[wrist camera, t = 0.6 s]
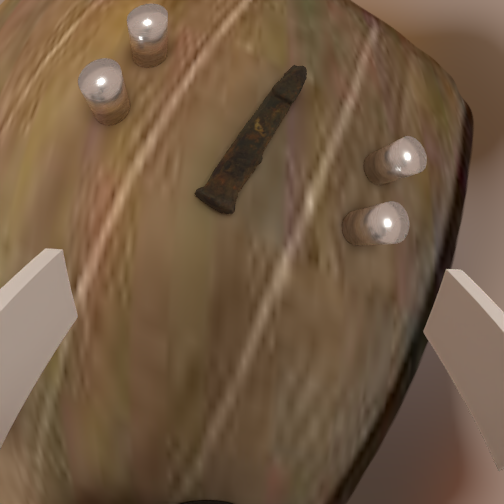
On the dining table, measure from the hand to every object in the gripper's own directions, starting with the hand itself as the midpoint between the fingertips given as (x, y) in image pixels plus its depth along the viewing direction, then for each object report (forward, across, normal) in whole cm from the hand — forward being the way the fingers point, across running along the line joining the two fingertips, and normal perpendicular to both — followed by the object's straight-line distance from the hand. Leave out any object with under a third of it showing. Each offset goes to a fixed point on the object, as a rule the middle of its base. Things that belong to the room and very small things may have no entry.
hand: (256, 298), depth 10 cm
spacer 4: (+25, -12, +6) cm, 28 cm away
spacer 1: (+25, +15, -6) cm, 30 cm away
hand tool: (+27, 0, -3) cm, 27 cm away
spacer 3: (+28, -15, 0) cm, 32 cm away
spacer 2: (+28, +12, -12) cm, 33 cm away
